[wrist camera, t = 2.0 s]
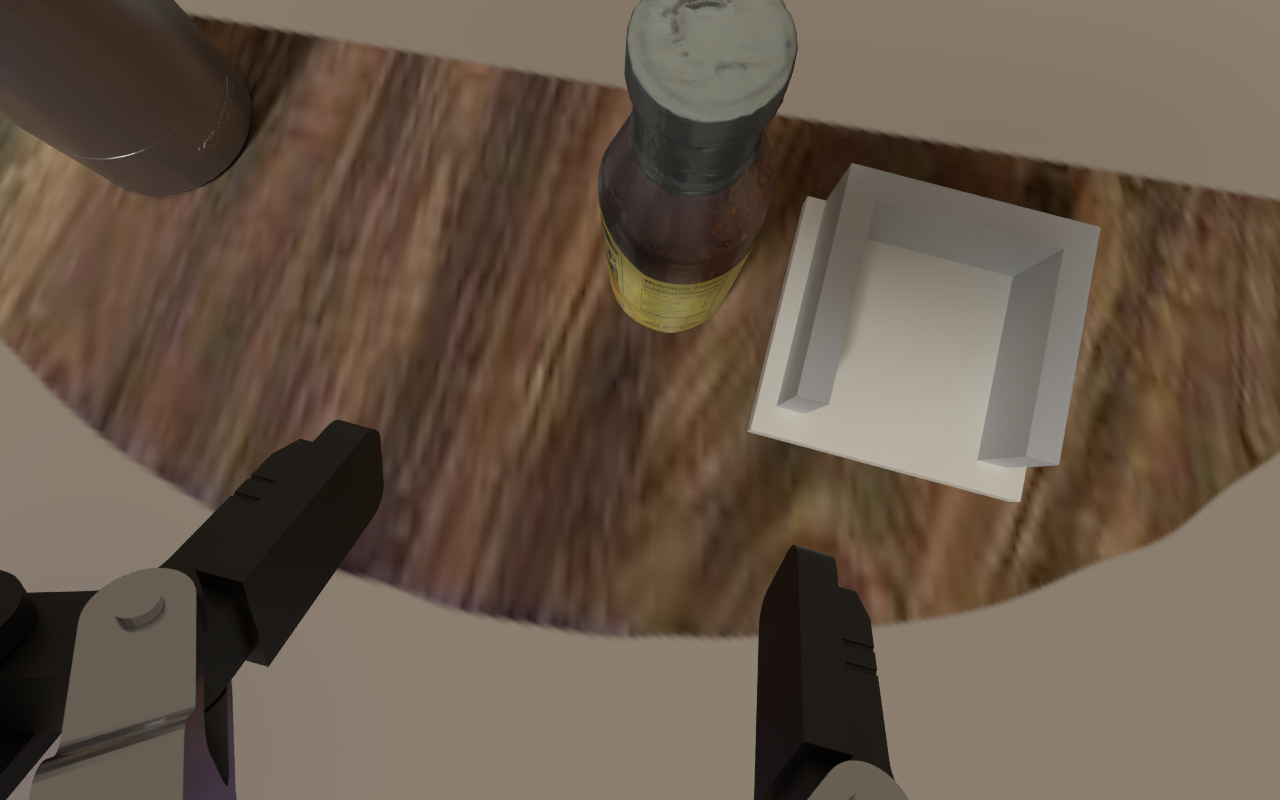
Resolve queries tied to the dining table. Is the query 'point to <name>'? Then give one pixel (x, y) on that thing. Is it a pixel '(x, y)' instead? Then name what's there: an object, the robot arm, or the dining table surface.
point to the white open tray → (928, 332)
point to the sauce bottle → (692, 154)
